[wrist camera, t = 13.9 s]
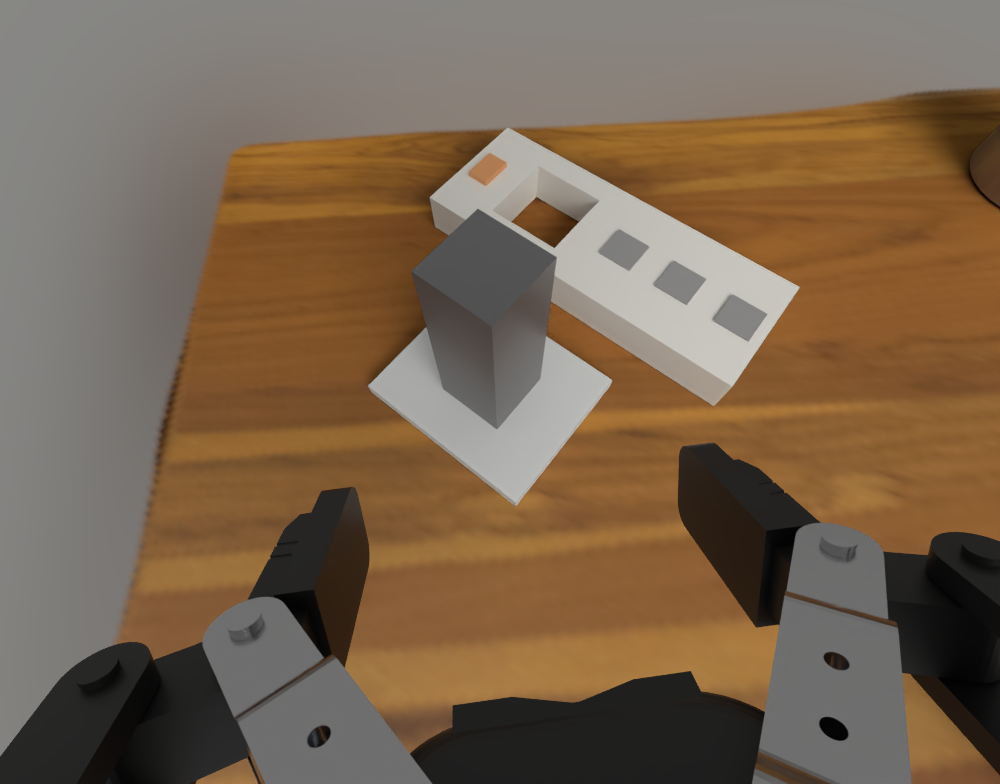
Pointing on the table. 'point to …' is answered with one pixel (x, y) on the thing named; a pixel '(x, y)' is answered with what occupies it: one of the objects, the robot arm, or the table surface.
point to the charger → (487, 314)
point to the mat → (474, 442)
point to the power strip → (628, 265)
